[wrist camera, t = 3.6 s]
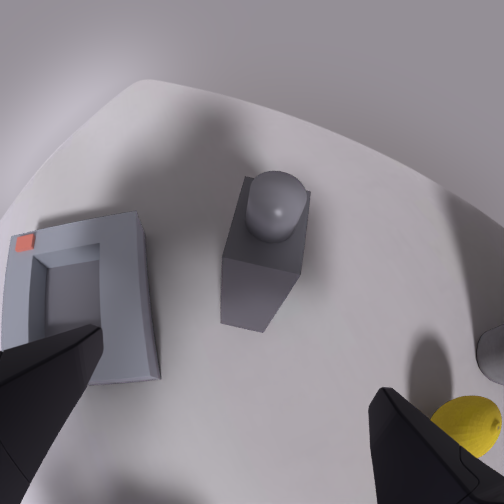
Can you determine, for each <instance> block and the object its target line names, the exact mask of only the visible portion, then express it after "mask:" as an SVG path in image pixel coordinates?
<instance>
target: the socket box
mask: <svg viewBox="0 0 504 504" xmlns="http://www.w3.org/2000/svg"><path fill="white" fill-rule="evenodd" d="M87 324H94V325H97V326H99V327H101V328H102V330H103V343H104V351H103V354H102V356H101V358H100V360H99V362H98V364H97V366H96V368H95V370H94V373H93V375H92V377H91V379H90V381H89V383H88V385H102V384H117V383H129V382H140V381H150V380H158V379H161V376H160V370H159V364H158V358H157V351H156V344H155V337H154V330H153V322H152V313H151V304H150V294H149V283H148V271H147V258H146V241H145V232H144V230H143V227H142V225H141V222H140V219H139V217H138V214H137V211H131V212H125V213H120V214H114V215H109V216H103V217H98V218H93V219H87V220H82V221H77V222H73V223H68V224H63V225H58V226H54V227H49V228H44V229H40V230H36V231H31V232H27V233H23V234H19V235H14V236H11V241H10V247H9V253H8V259H7V267H6V274H5V283H4V294H3V307H2V336H1V344H2V351H3V350H6V349H9V348H13V347H16V346H19V345H23V344H26V343H29V342H33V341H36V340H39V339H42V338H46V337H49V336H52V335H55V334H59V333H62V332H65V331H68V330H71V329H74V328H78V327H81V326H84V325H87Z"/></svg>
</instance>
